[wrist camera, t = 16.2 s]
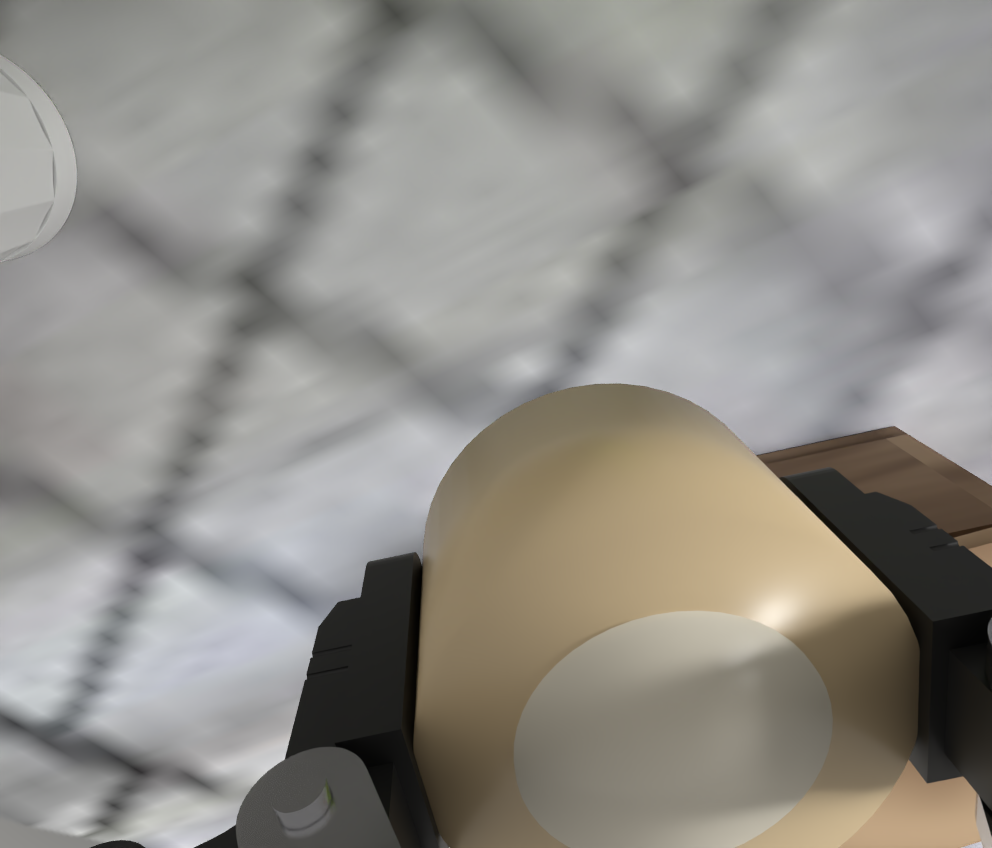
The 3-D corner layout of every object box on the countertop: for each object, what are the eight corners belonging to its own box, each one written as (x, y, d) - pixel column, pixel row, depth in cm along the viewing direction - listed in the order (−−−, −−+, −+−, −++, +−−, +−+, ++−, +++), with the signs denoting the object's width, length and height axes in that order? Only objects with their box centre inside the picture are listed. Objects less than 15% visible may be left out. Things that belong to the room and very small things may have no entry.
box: (660, 476, 27) (730, 579, 21) (894, 426, 27) (1037, 514, 21) (689, 701, 31) (755, 847, 25) (893, 657, 31) (1013, 792, 25)
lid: (723, 591, 20) (739, 612, 19) (1050, 503, 21) (1080, 518, 20) (752, 880, 24) (766, 907, 23) (1022, 797, 25) (1046, 821, 24)
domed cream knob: (384, 426, 10) (351, 589, 7) (758, 348, 10) (940, 467, 7) (463, 716, 12) (472, 967, 9) (777, 652, 12) (924, 877, 9)
